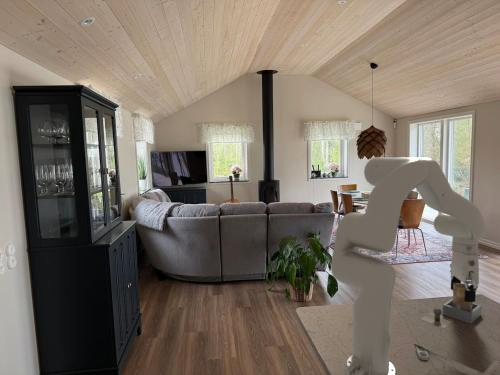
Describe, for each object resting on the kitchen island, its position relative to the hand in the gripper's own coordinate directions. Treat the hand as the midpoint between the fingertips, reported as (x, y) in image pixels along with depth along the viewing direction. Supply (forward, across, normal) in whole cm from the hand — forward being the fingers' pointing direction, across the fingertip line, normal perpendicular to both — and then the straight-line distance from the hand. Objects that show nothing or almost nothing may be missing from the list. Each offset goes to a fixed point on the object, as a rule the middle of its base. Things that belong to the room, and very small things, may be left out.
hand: (462, 295), depth 122 cm
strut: (+7, 0, 0) cm, 8 cm away
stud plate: (+9, -4, +10) cm, 14 cm away
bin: (+8, 0, 0) cm, 9 cm away
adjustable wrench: (+9, -12, +21) cm, 26 cm away
